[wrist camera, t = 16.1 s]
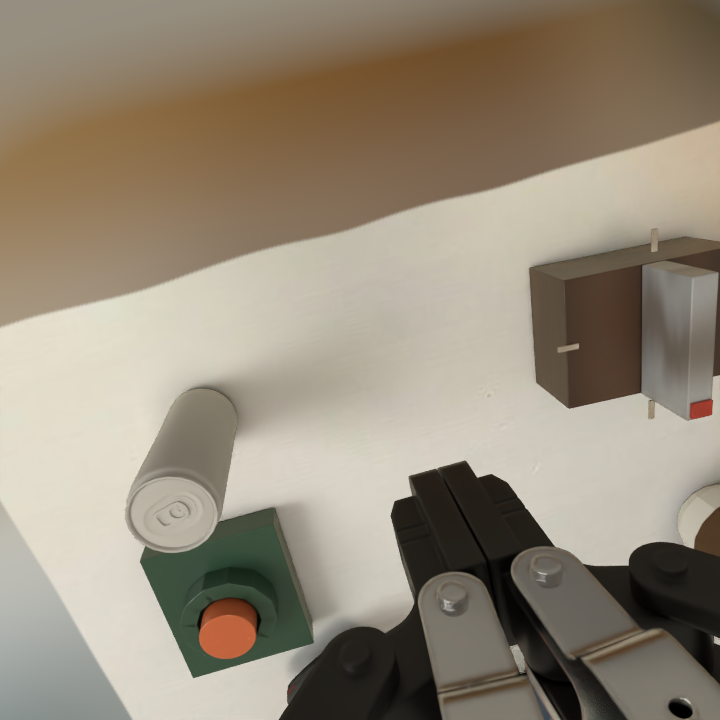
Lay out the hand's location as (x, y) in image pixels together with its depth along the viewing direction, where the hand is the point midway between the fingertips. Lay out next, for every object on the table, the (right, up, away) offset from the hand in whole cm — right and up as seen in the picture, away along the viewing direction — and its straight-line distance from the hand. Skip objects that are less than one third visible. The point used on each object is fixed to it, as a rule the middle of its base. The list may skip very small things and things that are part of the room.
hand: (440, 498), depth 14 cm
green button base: (-12, -15, +30) cm, 35 cm away
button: (-12, -16, +26) cm, 33 cm away
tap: (+17, +6, +22) cm, 29 cm away
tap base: (+17, +7, +27) cm, 32 cm away
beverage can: (-13, 0, +25) cm, 28 cm away
